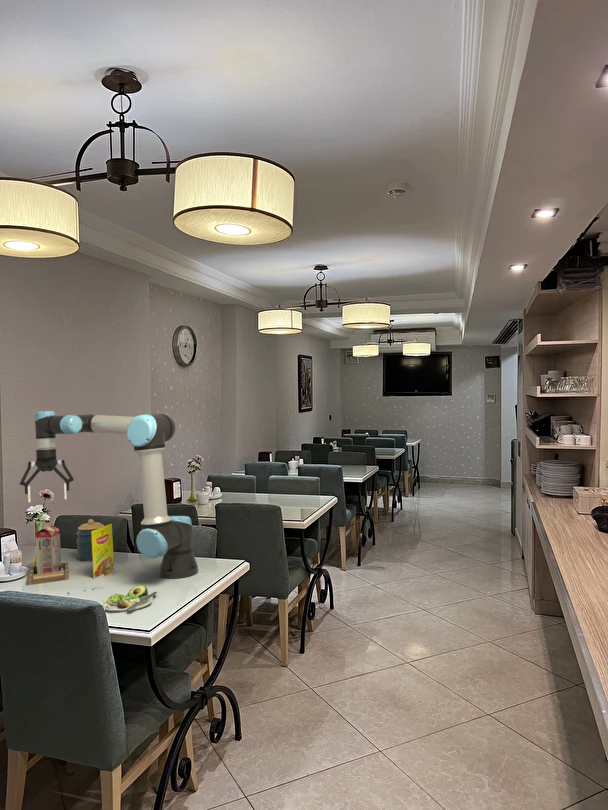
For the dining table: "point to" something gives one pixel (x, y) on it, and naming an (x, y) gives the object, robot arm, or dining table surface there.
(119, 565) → the dining table surface
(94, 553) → the food package
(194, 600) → the dining table surface
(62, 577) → the walnut rack
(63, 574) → the upper oak offcut
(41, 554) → the juice carton
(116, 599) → the salad plate
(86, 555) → the canister
